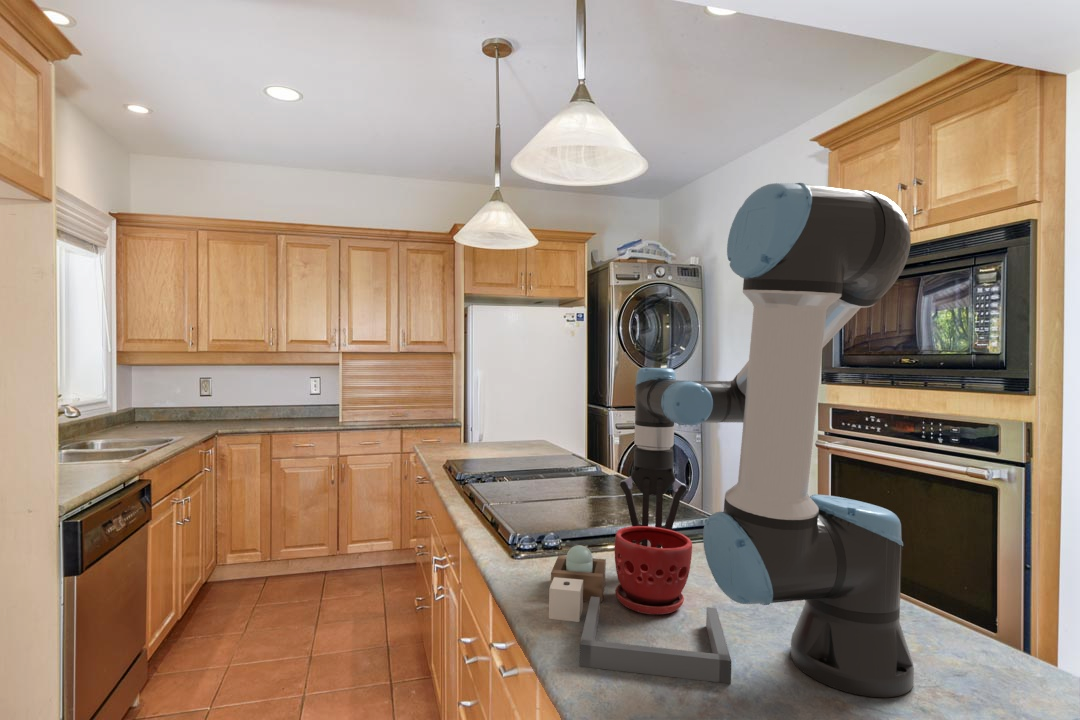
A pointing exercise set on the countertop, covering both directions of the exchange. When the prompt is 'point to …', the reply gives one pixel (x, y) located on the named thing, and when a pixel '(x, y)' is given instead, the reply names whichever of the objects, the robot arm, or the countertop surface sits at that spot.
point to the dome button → (579, 559)
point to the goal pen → (657, 653)
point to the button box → (584, 577)
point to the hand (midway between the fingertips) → (650, 567)
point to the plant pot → (652, 568)
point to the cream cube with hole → (566, 599)
